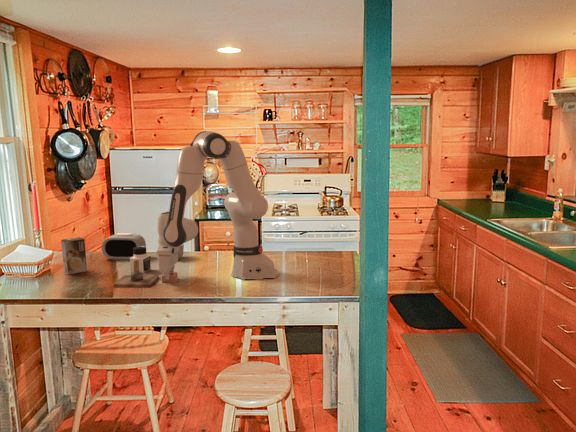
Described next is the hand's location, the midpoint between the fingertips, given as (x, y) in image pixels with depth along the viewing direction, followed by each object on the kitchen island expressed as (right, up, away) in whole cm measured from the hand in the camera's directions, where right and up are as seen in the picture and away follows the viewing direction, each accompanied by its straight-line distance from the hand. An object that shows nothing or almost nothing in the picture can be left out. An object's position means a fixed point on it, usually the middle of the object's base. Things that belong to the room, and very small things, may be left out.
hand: (169, 276), depth 228 cm
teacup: (-7, +4, +39) cm, 40 cm away
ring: (0, -2, 0) cm, 2 cm away
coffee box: (-49, 0, +14) cm, 51 cm away
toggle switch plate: (-14, -2, -3) cm, 14 cm away
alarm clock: (-34, +5, +40) cm, 53 cm away
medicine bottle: (-18, +1, +16) cm, 24 cm away
